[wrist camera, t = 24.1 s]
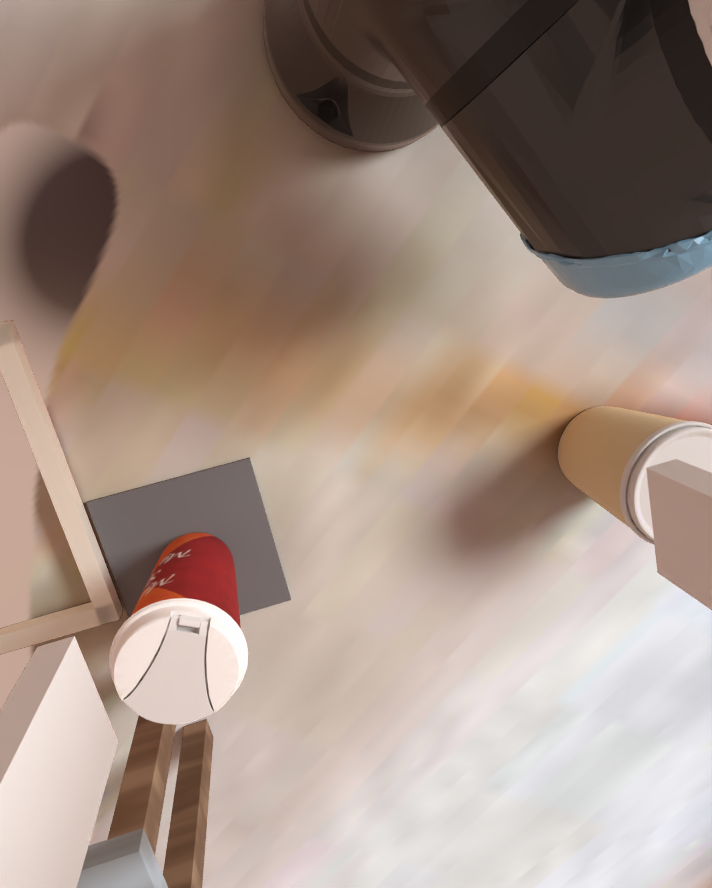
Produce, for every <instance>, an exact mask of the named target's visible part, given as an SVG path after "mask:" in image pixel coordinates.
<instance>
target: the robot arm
mask: <svg viewBox="0 0 712 888" xmlns="http://www.w3.org/2000/svg"><path fill="white" fill-rule="evenodd" d="M263 30H264V42H265V49H266V54H267V58H268V62H269V65H270V68H271V71H272V74H273V76H274V79H275V81H276V83H277V85H278V87H279V89H280V91H281V93H282V95H283V96H284V98H285V100H286V101H287V103H288V104H289V106H290V107H291V108H292V109H293V111H294V112H295V113H296V114H297V115H298V116H299V118H300V119H301V120H302V121H303V122H305V123H306V124H307V125H308V126H309V127H310V128H311V129H313V130H314V131H315V132H317V133H318V134H320V135H321V136H323V137H324V138H326V139H328V140H330V141H332V142H334V143H336V144H339V145H341V146H344V147H347V148H351V149H355V150H361V151H387V150H393V149H397V148H400V147H403V146H406V145H409V144H411V143H413V142H415V141H417V140H419V139H420V138H422V137H424V136H425V135H427V134H428V133H429V132H430V131H432V130H433V129H434V128H435V127H436V126H438V125H439V124H440V126H441V128H442V129H443V131H444V132H445V133H446V135H447V136H448V137H449V139H450V140H451V141H452V142H453V144H454V145H455V146H456V148H457V149H458V150H459V152H460V153H461V154H462V156H463V157H464V158H465V160H466V161H467V162H468V164H469V165H470V166H471V167H472V169H473V170H474V171H475V173H476V174H477V175H478V177H479V178H480V179H481V181H482V182H483V183H484V185H485V186H486V187H487V189H488V190H489V191H490V193H491V194H492V195H493V196H494V198H495V199H496V200H497V202H498V203H499V204H500V206H501V207H502V208H503V210H504V211H505V212H506V214H507V215H508V216H509V218H510V219H511V220H512V221H513V223H514V224H515V225H516V227H517V228H518V229H519V231H520V232H521V234H520V236H521V239H522V241H523V243H524V245H525V246H526V247H527V249H528V250H529V251H531V252H532V253H534V254H535V255H536V256H537V257H539V258H541V259H542V260H543V262H544V263H545V264H546V265H547V266H548V268H549V269H550V270H551V271H552V272H553V274H554V275H555V276H556V277H557V278H558V280H559V281H560V282H561V283H562V284H563V285H565V286H566V287H567V288H570V289H572V290H574V291H575V292H577V293H579V294H583V295H585V296H588V297H595V298H619V297H627V296H632V295H637V294H641V293H646V292H649V291H653V290H656V289H660V288H663V287H665V286H668V285H671V284H673V283H676V282H679V281H681V280H684V279H686V278H689V277H691V276H693V275H695V274H697V273H699V272H701V271H703V270H705V269H707V268H709V267H711V266H712V0H265V3H264V19H263ZM646 471H647V480H648V489H649V499H650V508H651V517H652V526H653V535H654V544H655V553H656V562H657V571H658V573H659V574H660V575H662V576H663V577H665V578H666V579H668V580H669V581H670V582H672V583H673V584H675V585H676V586H678V587H679V588H681V589H682V590H683V591H685V592H686V593H688V594H689V595H691V596H692V597H694V598H695V599H696V600H698V601H699V602H701V603H702V604H704V605H705V606H707V607H708V608H709V609H711V610H712V473H711V472H708V471H706V470H703V469H700V468H698V467H695V466H693V465H690V464H688V463H685V462H683V461H680V460H678V459H674V460H671V461H667V462H664V463H661V464H657V465H654V466H650V467H647V468H646ZM117 745H118V739H117V737H116V735H115V732H114V730H113V727H112V725H111V723H110V720H109V718H108V715H107V713H106V710H105V708H104V706H103V703H102V701H101V698H100V696H99V694H98V691H97V689H96V686H95V684H94V682H93V679H92V677H91V674H90V672H89V669H88V667H87V665H86V662H85V660H84V657H83V655H82V653H81V650H80V648H79V645H78V643H77V641H76V638H75V636H73V637H69V638H66V639H62V640H59V641H56V642H52V643H49V644H45V645H42V646H39V647H37V649H36V650H35V652H34V654H33V655H32V657H31V659H30V660H29V662H28V664H27V666H26V667H25V669H24V671H23V672H22V674H21V676H20V678H19V679H18V681H17V683H16V684H15V686H14V688H13V689H12V691H11V693H10V694H9V696H8V698H7V700H6V701H5V703H4V705H3V706H2V708H1V710H0V888H77V884H78V881H79V877H80V874H81V870H82V867H83V863H84V860H85V856H86V853H87V849H88V846H89V842H90V839H91V835H92V832H93V829H94V825H95V822H96V818H97V815H98V811H99V808H100V804H101V801H102V797H103V794H104V790H105V787H106V783H107V780H108V776H109V773H110V769H111V766H112V762H113V759H114V755H115V752H116V748H117Z"/></svg>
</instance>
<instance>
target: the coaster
mask: <svg viewBox="0 0 712 888" xmlns="http://www.w3.org/2000/svg"><path fill="white" fill-rule="evenodd" d="M86 504H87V507H88V510H89V512H90V515H91V518H92V520H93V523H94V526H95V528H96V531H97V533H98V536H99V539H100V541H101V544H102V547H103V549H104V552H105V555H106V557H107V560H108V563H109V565H110V568H111V570H112V573H113V576H114V578H115V581H116V584H117V586H118V589H119V592H120V594H121V597H122V600H123V602H124V605H125V608H126V610H127V613H128V615H129V618H130V617H131V615H132V613H133V611H134V609H135V607H136V605H137V603H138V600H139V598H140V596H141V594H142V592H143V590H144V588H145V586H146V584H147V582H148V580H149V578H150V576H151V574H152V572H153V570H154V568H155V566H156V564H157V562H158V560H159V558H160V556H161V555H162V553H163V551H164V550H165V548H166V547H167V546H168V545H169V544H170V543H171V542H172V541H173V540H175V539H176V538H178V537H180V536H182V535H184V534H188V533H194V532H201V533H207V534H211V535H213V536H215V537H217V538H219V539H220V540H221V541H223V542H224V543H225V544H226V545H227V547H228V548H229V550H230V552H231V554H232V556H233V560H234V566H235V573H236V583H237V593H238V604H239V615H241V614H245V613H248V612H251V611H255V610H258V609H262V608H265V607H268V606H272V605H275V604H278V603H282V602H285V601H288V600H291V598H290V594H289V591H288V588H287V584H286V581H285V577H284V574H283V571H282V567H281V564H280V560H279V557H278V554H277V550H276V547H275V543H274V540H273V537H272V533H271V530H270V526H269V523H268V519H267V516H266V513H265V509H264V506H263V502H262V499H261V496H260V492H259V489H258V485H257V482H256V479H255V475H254V472H253V468H252V465H251V462H250V458H246V459H243V460H239V461H235V462H232V463H228V464H224V465H221V466H217V467H213V468H209V469H206V470H202V471H198V472H195V473H191V474H187V475H184V476H180V477H176V478H173V479H169V480H165V481H161V482H158V483H154V484H150V485H147V486H143V487H139V488H136V489H132V490H128V491H125V492H121V493H117V494H113V495H110V496H106V497H102V498H99V499H95V500H91V501H88V502H86Z"/></svg>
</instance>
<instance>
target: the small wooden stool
mask: <svg viewBox="0 0 712 888" xmlns="http://www.w3.org/2000/svg"><path fill="white" fill-rule="evenodd" d="M175 728H176V725H173V724H161V723H156V722H153V721H150V720H147V719H145V718H143V717H141V716H139V717H138V721H137V725H136V729H135V733H134V737H133V741H132V745H131V749H130V753H129V757H128V761H127V765H126V769H125V772H124V776H123V780H122V784H121V788H120V792H119V796H118V800H117V804H116V808H115V812H114V816H113V820H112V824H111V828H110V831H109V835H108V839H107V840H105V841H102V842H99V843H96V844H93V845H90V846H88V849H87V853H86V856H85V860H84V863H83V867H82V870H81V874H80V877H79V881H78V884H77V888H202V880H203V867H204V854H205V840H206V827H207V814H208V800H209V787H210V774H211V761H212V747H213V736H212V733H211V730H210V727H209V724H208V722H207V719H206V720H203V721H200V722H196V723H193V724H190V725H187V726H184V732H183V739H182V746H181V753H180V760H179V767H178V774H177V781H176V788H175V795H174V802H173V809H172V816H171V822H170V829H169V836H168V843H167V850H166V857H165V864H164V871H163V874H162V871H161V869H160V867H159V864H158V862H157V859H156V857H155V851H156V845H157V839H158V833H159V826H160V820H161V814H162V808H163V802H164V796H165V790H166V783H167V777H168V771H169V765H170V759H171V753H172V747H173V741H174V734H175Z"/></svg>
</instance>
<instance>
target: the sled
mask: <svg viewBox="0 0 712 888" xmlns="http://www.w3.org/2000/svg"><path fill="white" fill-rule="evenodd" d="M0 371H1V374H2V376H3V379H4V381H5V384H6V386H7V389H8V391H9V394H10V396H11V399H12V401H13V404H14V407H15V409H16V412H17V414H18V417H19V419H20V422H21V424H22V427H23V429H24V432H25V434H26V437H27V440H28V442H29V445H30V447H31V449H32V452H33V455H34V457H35V460H36V462H37V465H38V467H39V470H40V472H41V475H42V478H43V480H44V483H45V485H46V488H47V490H48V493H49V495H50V498H51V500H52V503H53V505H54V508H55V511H56V513H57V516H58V518H59V521H60V523H61V526H62V528H63V531H64V533H65V536H66V538H67V541H68V543H69V546H70V549H71V551H72V554H73V556H74V559H75V561H76V564H77V566H78V569H79V571H80V574H81V576H82V579H83V582H84V584H85V587H86V589H87V592H88V594H89V597H90V599H91V602H89V603H86V604H82V605H79V606H75V607H72V608H69V609H65V610H62V611H58V612H55V613H51V614H48V615H44V616H41V617H37V618H34V619H30V620H27V621H23V622H20V623H16V624H13V625H10V626H6V627H3V628H0V655H1V654H4V653H7V652H11V651H14V650H18V649H21V648H25V647H28V646H31V645H35V644H38V643H42V642H45V641H49V640H52V639H55V638H59V637H62V636H66V635H69V634H73V633H76V632H79V631H83V630H86V629H90V628H93V627H96V626H100V625H103V624H107V623H110V622H114V621H117V620H120V618H121V615H122V612H123V609H122V606H121V603H120V601H119V598H118V595H117V593H116V590H115V587H114V585H113V582H112V580H111V577H110V574H109V572H108V569H107V566H106V564H105V561H104V559H103V556H102V553H101V551H100V548H99V545H98V543H97V540H96V537H95V535H94V532H93V530H92V527H91V524H90V522H89V519H88V516H87V514H86V511H85V509H84V506H83V503H82V501H81V498H80V495H79V493H78V490H77V487H76V485H75V482H74V480H73V477H72V474H71V472H70V469H69V466H68V464H67V461H66V459H65V456H64V453H63V451H62V448H61V445H60V443H59V440H58V437H57V435H56V432H55V430H54V427H53V424H52V422H51V419H50V416H49V414H48V411H47V409H46V406H45V403H44V401H43V398H42V395H41V393H40V390H39V388H38V385H37V382H36V380H35V377H34V374H33V372H32V369H31V366H30V364H29V361H28V358H27V356H26V353H25V351H24V348H23V346H22V343H21V340H20V337H19V335H18V332H17V330H16V327H15V324H14V322H13V320H12V321H4V322H1V323H0Z"/></svg>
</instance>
